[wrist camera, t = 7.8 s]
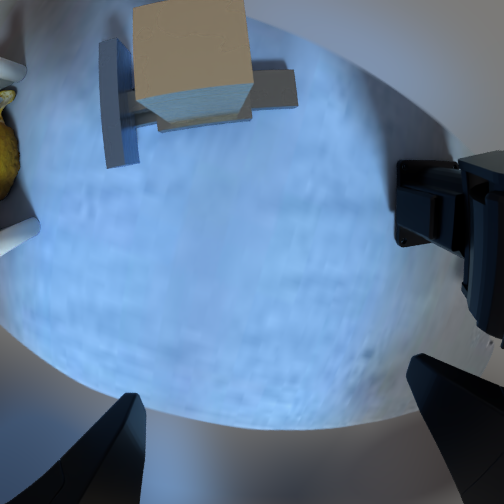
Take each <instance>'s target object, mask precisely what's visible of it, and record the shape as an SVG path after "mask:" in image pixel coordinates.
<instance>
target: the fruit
mask: <svg viewBox="0 0 504 504" xmlns="http://www.w3.org/2000/svg"><path fill="white" fill-rule="evenodd" d="M15 96H16V95H15V92H14V91H13V90H7V91H6V90H3V91H0V97H2V99H3V101H2V102H1V103H0V201H1V200H3V199H4V198H5V197H6V196H7V194H8V192H9V191H10V187H11V186H12V185H13V182H14V179H15V177H16V176H17V174H18V171H19V169H20V163H19V154H20V153H19V152H18V147H17V144H18V143H17V140H16V138H15V135H14V130H13V129H12V128H11V127H8V126H6V125H5V123H4V120H3V118H2V116H1V112H2V110H3V108H4V107H5V106H6V105H7V104H9V103H10V102H12V101H14V98H15Z"/></svg>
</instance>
